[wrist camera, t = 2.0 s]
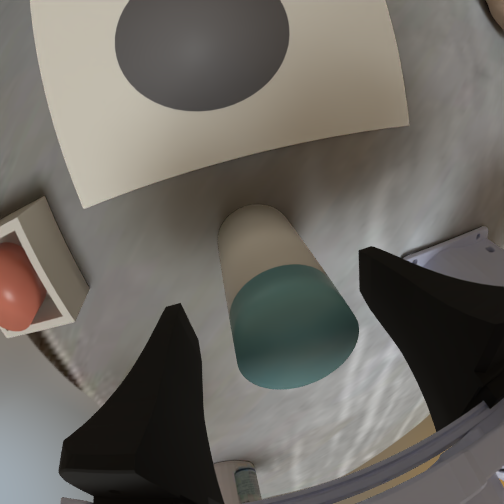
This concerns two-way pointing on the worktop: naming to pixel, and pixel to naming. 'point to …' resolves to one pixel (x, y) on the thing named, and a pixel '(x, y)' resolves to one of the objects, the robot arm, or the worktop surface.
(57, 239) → the button housing
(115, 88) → the paper sheet
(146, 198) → the worktop surface
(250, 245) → the marker
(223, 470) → the spray can
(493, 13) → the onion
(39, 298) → the button
